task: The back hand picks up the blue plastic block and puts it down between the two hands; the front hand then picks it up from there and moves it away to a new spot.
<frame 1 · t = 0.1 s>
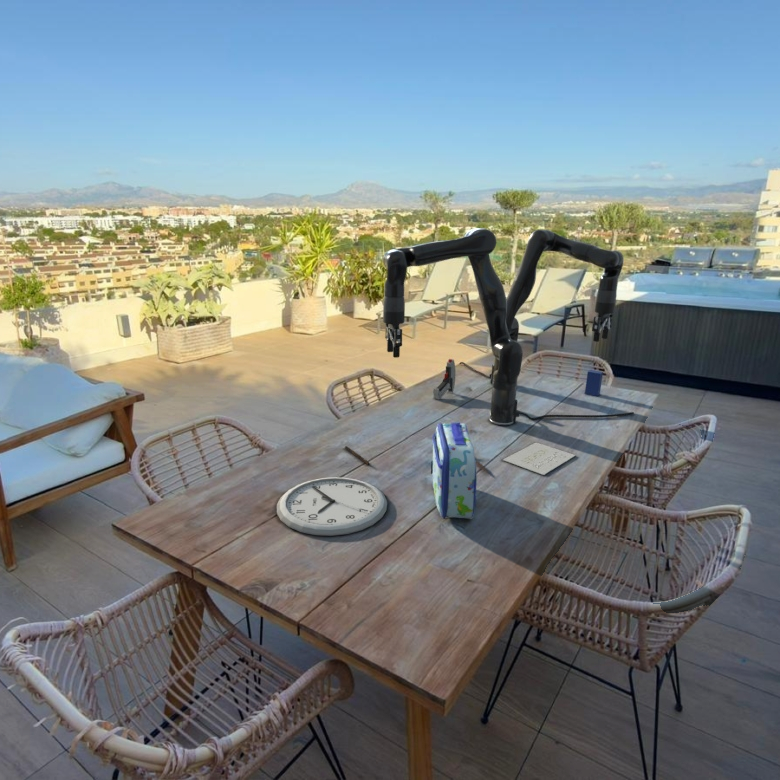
front hand: (393, 354, 187), 29 cm above the table, tool pointing down, fingers open, 8 cm apart
back hand: (600, 339, 219), 29 cm above the table, tool pointing down, fingers open, 8 cm apart
brown wooden stick: (356, 456, 173), on the table
toy gun: (444, 395, 237), on the table
lunch box: (451, 501, 146), on the table
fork: (476, 464, 169), on the table
block: (592, 394, 244), on the table
wall clock: (332, 505, 143), on the table
invitation card: (539, 458, 174), on the table
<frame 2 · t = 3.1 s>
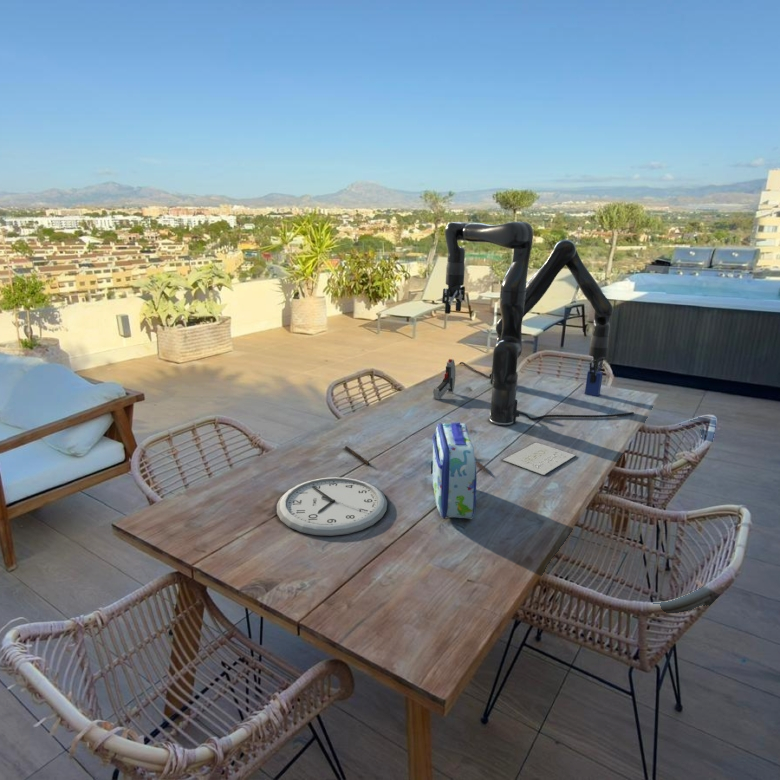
front hand: (452, 312, 221), 39 cm above the table, tool pointing down, fingers open, 8 cm apart
back hand: (593, 381, 242), 6 cm above the table, tool pointing down, fingers closed on block, 4 cm apart
block: (592, 394, 244), on the table, touching back hand
everything else where it was.
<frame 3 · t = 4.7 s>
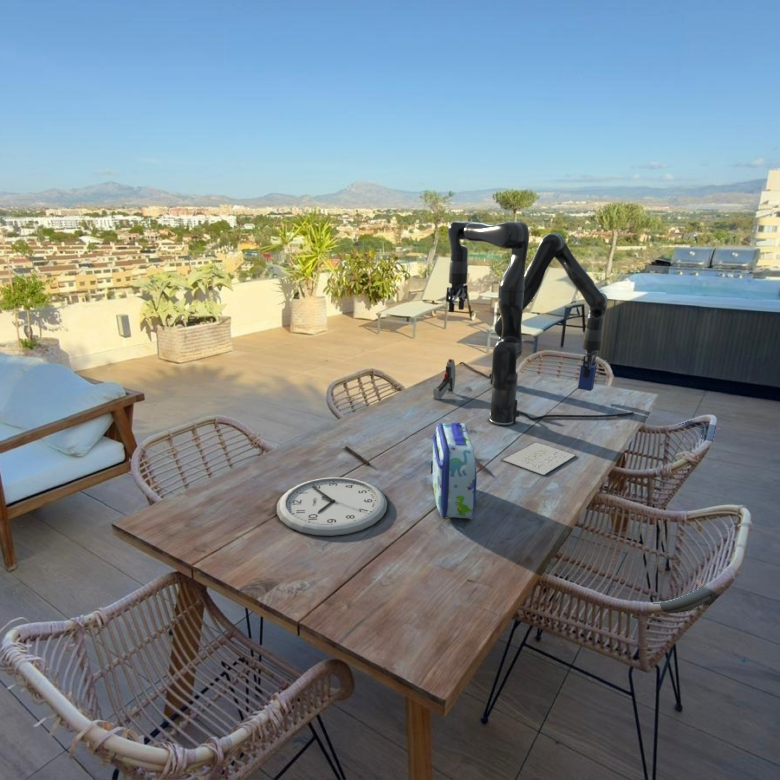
front hand: (456, 310, 223), 39 cm above the table, tool pointing down, fingers open, 8 cm apart
back hand: (587, 375, 235), 10 cm above the table, tool pointing down, fingers closed on block, 4 cm apart
block: (585, 388, 237), point 4 cm above the table, touching back hand
everything else where it was.
when the back hand's fingers open (8 cm above the table, at t = 6.1 s): block drops 2 cm, on the table.
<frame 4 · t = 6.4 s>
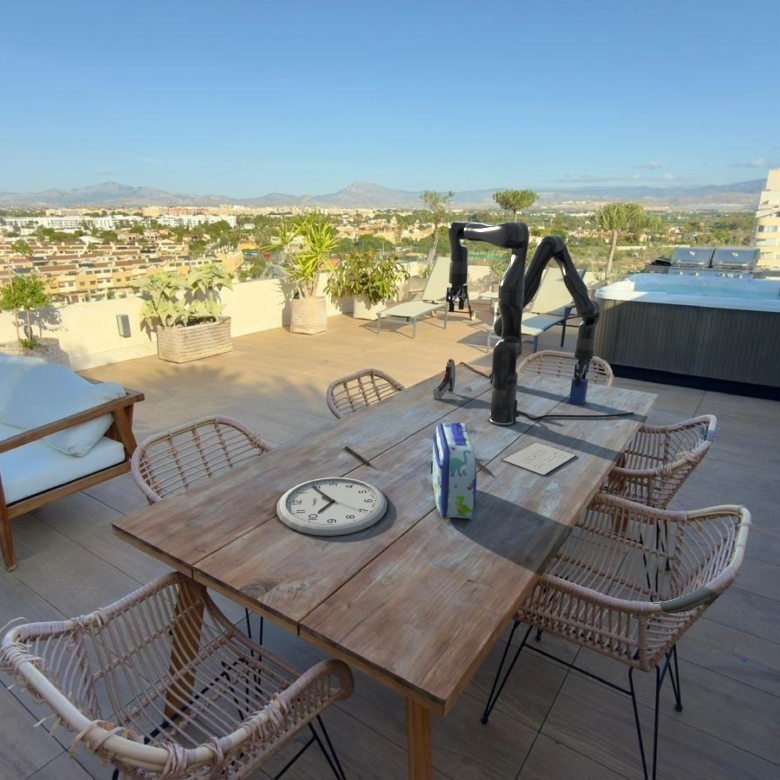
front hand: (456, 310, 223), 39 cm above the table, tool pointing down, fingers open, 8 cm apart
back hand: (579, 384, 229), 8 cm above the table, tool pointing down, fingers open, 6 cm apart
block: (577, 402, 231), on the table
everything else where it was.
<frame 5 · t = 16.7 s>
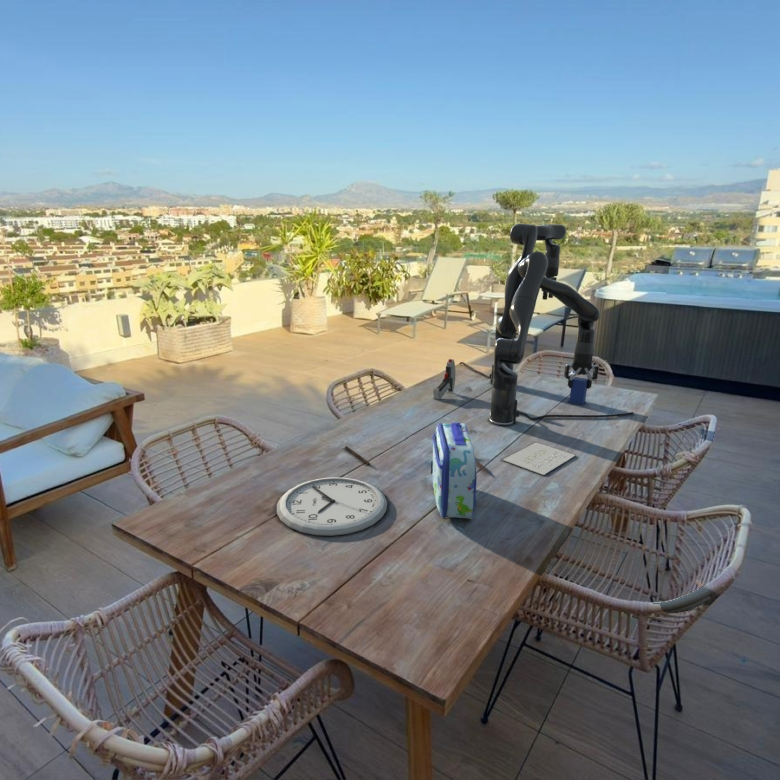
front hand: (578, 387, 229), 7 cm above the table, tool pointing down, fingers closed on block, 7 cm apart
back hand: (547, 298, 267), 39 cm above the table, tool pointing down, fingers open, 8 cm apart
block: (577, 402, 231), on the table, touching front hand
everything else where it was.
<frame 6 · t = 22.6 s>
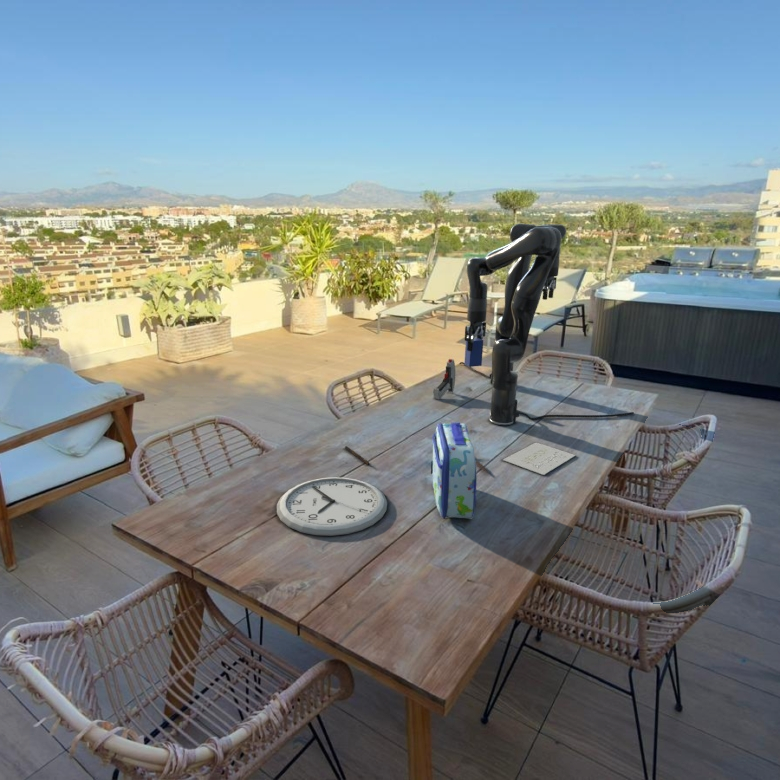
front hand: (474, 349, 214), 26 cm above the table, tool pointing down, fingers closed on block, 7 cm apart
back hand: (547, 298, 267), 39 cm above the table, tool pointing down, fingers open, 8 cm apart
block: (472, 365, 216), point 19 cm above the table, touching front hand
everything else where it was.
when the front hand's fingers open (8 cm above the table, at t = 28.7 s): block drops 2 cm, on the table.
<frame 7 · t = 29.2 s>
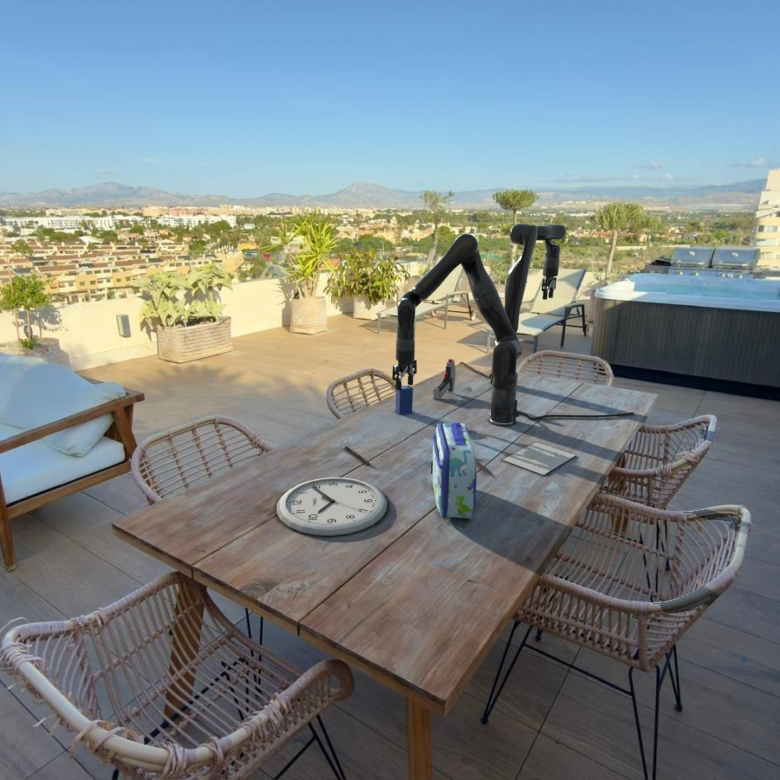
front hand: (404, 387, 212), 11 cm above the table, tool pointing down, fingers open, 8 cm apart
back hand: (547, 298, 267), 39 cm above the table, tool pointing down, fingers open, 8 cm apart
block: (403, 412, 216), on the table
everything else where it was.
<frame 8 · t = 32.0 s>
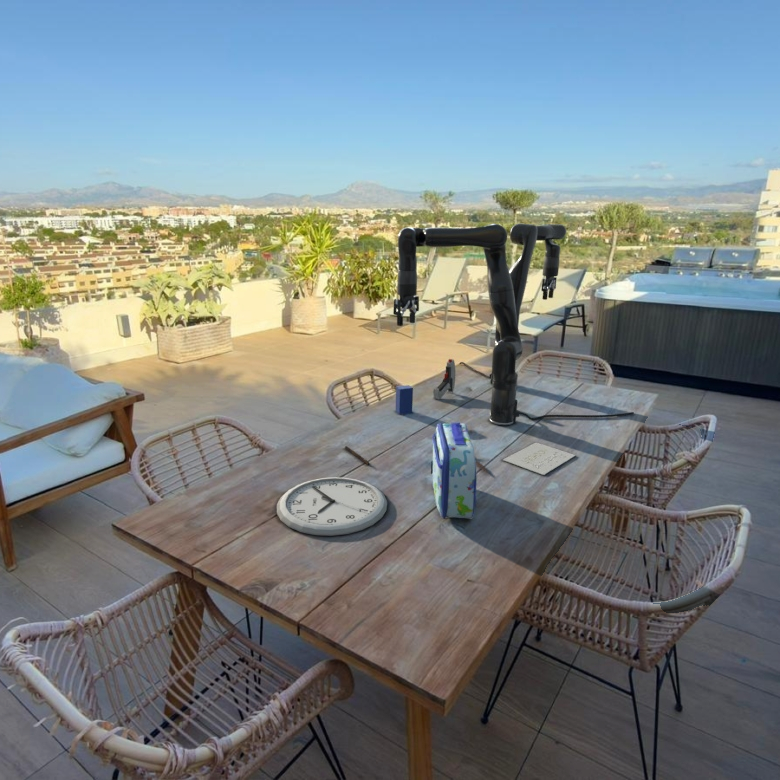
front hand: (406, 324, 205), 37 cm above the table, tool pointing down, fingers open, 8 cm apart
back hand: (547, 298, 267), 39 cm above the table, tool pointing down, fingers open, 8 cm apart
nothing on the table moved.
at the end: block inside the target area (0.1 cm from its centre), on the table; block tilted 0°; the two hands never held the block at the same time; the front hand is holding nothing; the back hand is holding nothing; block at rest at the end (0.0 cm/s) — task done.
